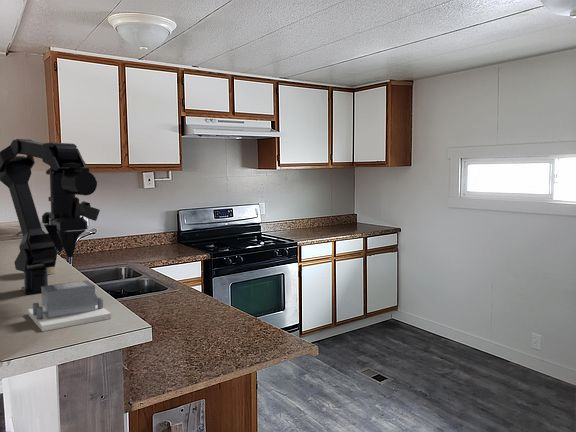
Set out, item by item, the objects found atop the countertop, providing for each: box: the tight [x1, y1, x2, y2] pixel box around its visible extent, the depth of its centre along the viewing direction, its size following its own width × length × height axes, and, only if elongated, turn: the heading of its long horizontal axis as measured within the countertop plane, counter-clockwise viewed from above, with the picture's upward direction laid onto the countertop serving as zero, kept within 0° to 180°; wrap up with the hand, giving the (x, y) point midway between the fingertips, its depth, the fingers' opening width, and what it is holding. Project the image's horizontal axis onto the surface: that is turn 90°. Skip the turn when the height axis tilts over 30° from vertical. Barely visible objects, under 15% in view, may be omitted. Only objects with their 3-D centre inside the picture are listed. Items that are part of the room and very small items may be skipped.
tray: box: [27, 293, 112, 332], centre depth 109 cm, size 14×14×4 cm
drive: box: [41, 280, 96, 319], centre depth 109 cm, size 6×10×6 cm, turn 129°
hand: (64, 254), depth 121 cm, fingers open, 9 cm apart
